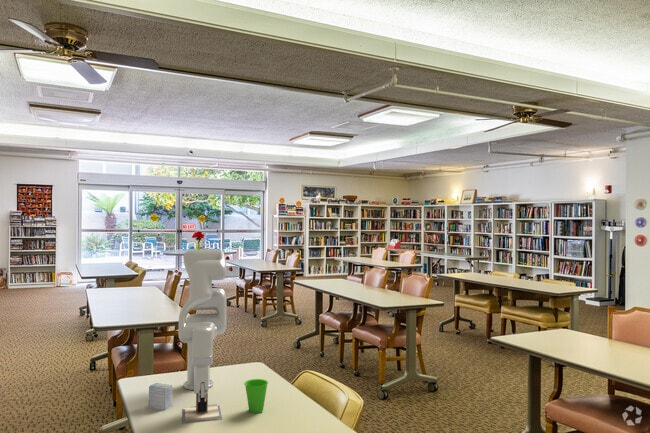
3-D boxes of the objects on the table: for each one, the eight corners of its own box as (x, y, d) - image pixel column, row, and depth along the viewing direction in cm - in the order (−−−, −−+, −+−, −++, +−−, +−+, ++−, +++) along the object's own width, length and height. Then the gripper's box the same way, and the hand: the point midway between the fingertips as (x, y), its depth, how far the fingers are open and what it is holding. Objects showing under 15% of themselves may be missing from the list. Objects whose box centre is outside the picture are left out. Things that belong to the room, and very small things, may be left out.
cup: (263, 417, 178) (263, 387, 178) (240, 415, 180) (240, 385, 180) (271, 408, 187) (271, 379, 187) (249, 406, 188) (249, 378, 189)
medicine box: (172, 407, 187) (172, 384, 187) (165, 411, 183) (165, 388, 183) (155, 404, 190) (156, 382, 190) (148, 408, 186) (148, 385, 186)
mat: (182, 410, 184) (182, 409, 184) (219, 406, 188) (219, 405, 188) (182, 425, 171) (182, 423, 171) (222, 420, 175) (222, 419, 175)
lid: (184, 409, 183) (185, 388, 183) (217, 406, 187) (217, 385, 187) (185, 422, 172) (185, 399, 172) (219, 418, 175) (219, 396, 175)
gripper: (191, 355, 187) (190, 402, 186) (192, 367, 171) (191, 419, 170) (211, 353, 189) (210, 400, 188) (214, 365, 173) (213, 417, 172)
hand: (201, 409), depth 179 cm, fingers closed on lid, 4 cm apart
